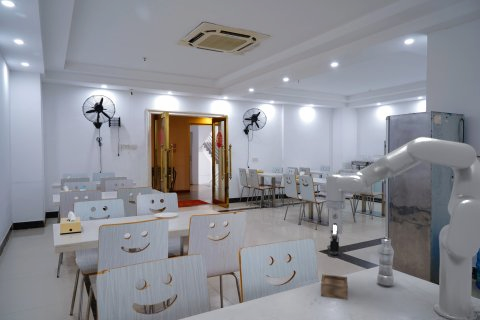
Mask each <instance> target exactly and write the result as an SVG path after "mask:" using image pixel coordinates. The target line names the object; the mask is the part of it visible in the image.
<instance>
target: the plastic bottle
mask: <svg viewBox="0 0 480 320" xmlns="http://www.w3.org/2000/svg"><path fill="white" fill-rule="evenodd" d="M380 241H381V244H380V245H379V247H378V250H377V252H378V253H377V254H378V273H377V282H378V284H379V285H380V286H383V287H391V286H393V284H394V282H395V281H394V273H393V272H394V271H393V261H394V255H395V251H394V248H393V246H392V245H391V244H392V242H391V241H392V239H391V238H388V237H381V240H380Z"/></svg>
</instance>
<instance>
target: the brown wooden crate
mask: <svg viewBox="0 0 480 320" xmlns="http://www.w3.org/2000/svg"><path fill="white" fill-rule="evenodd" d="M348 287H349V286H348V277H347V276H340V275H332V274H326V273H325V274H322V275H321V282H320V297H324V298H325V297H326V298H333V299H340V300H345V301H346V300H348V299H349V298H348V297H349V296H348V294H349V293H348V292H349V291H348V289H349V288H348Z"/></svg>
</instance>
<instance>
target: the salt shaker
mask: <svg viewBox="0 0 480 320" xmlns="http://www.w3.org/2000/svg"><path fill="white" fill-rule="evenodd" d="M332 233H333V232H332ZM336 233H337V232H336ZM332 236H333V235H332ZM336 236H337V235H336ZM329 239H331V236H330V237H329ZM338 239H339V240H340V237H339V238H338ZM326 248H327V251H328V254H327V257H329V258H332V259H340V258H342V255H341V254H340V253H341V252H342V249H343V248H342V247H341V246H340V245H339V251H338V252H334V251H330V244H329V245H327V246H326Z"/></svg>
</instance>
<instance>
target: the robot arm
mask: <svg viewBox="0 0 480 320" xmlns="http://www.w3.org/2000/svg"><path fill="white" fill-rule="evenodd" d="M477 157H478V156H477V152H476V149H475V148H474V147H473V146H472V145H470V144H467V143H465V142H458V141H451V140H444V139H439V138H433V137H428V136H420V137H416V138H414V139H413V140H410V141H409V142H407V143H405V144H403V145H401V146H400V147H397V148H396V149H394V150H392V151H390V152H388V153H387V154H384V155H383V156H381V157H380V158H378V159H377V160H375V161H374V162H372V163H371V164H369V165H367V166H365V167H364V168H362V169H360V170H358V171H356V172H354V173H352V174H349V175H347V174H346V175H344V174H342V173H329V174H327V175H326V179H325V208H326V209H328V230H329V234H330V237H331V238H330V243H329V245H330V251H334V252H338V251H339V246H340V237H339V234H340V235H341V236H342V235H343V210H345V209H346V193H347V194H352V195H358V194H361V193H363V192H364V191H365V190H366V189H367V188H370V187H371V186H373V185H375V184H377V183H379V182H380V181H383V180H386V179H390V178H393V177H395V176H398V175H400V174H402V173H404V172H406V171H407V170H409V169H411V168H413V167H415V166H417V165H419V164H421V163H423V162H424V163H426V164H428V163H429V164H432V165H433V164H434V165H439V166H443V167H448V168H451V169H452V171H453V178H454V179H453V183H452V184H453V185H452V190H451V193H450V198H449V201H448V204H447V212H448V214H449V216H450V219H449V224H446V225H444V226H443V227H442V228H441V229H440V232H439V235H438V243H439V280H438V281H439V282H438V283H439V285H438V286H439V287H438V288H439V289H438V302H436V303H435V304H434V305H433V310H434V311H435V312H436V314H438V315H440V316H441V317H443V318H445V319H448V320H477V314H478V313H479V314H480V304H474V303H472V283H473V281H472V280H473V279H472V278H473V277H472V276H473V274H472V273H473V257H475V256H476V255H477V254H478V252H479V250H480V160H479V159H478V158H477ZM332 232H333V233H332ZM336 232H337V233H336ZM332 235H333V236H332ZM336 235H337V236H336ZM338 238H339V239H338Z"/></svg>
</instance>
